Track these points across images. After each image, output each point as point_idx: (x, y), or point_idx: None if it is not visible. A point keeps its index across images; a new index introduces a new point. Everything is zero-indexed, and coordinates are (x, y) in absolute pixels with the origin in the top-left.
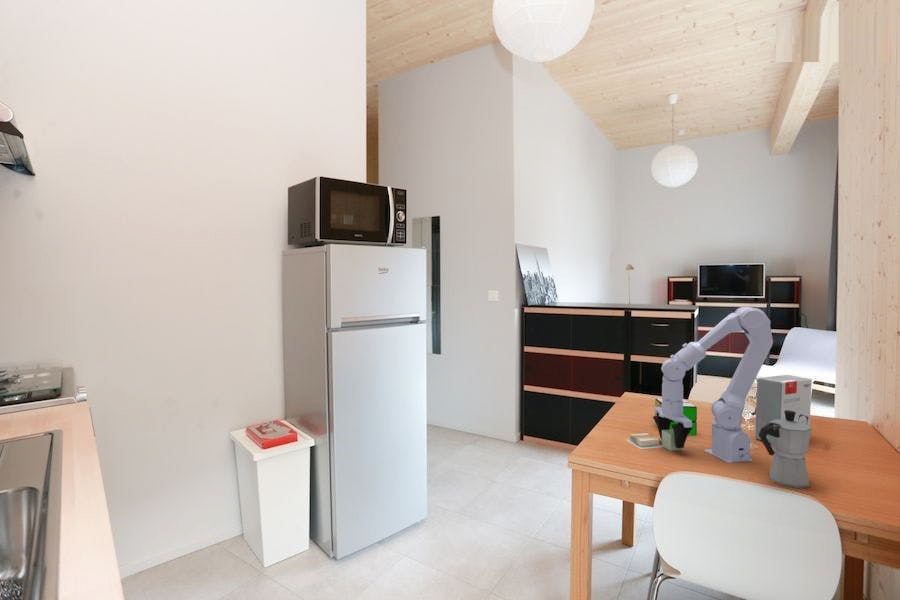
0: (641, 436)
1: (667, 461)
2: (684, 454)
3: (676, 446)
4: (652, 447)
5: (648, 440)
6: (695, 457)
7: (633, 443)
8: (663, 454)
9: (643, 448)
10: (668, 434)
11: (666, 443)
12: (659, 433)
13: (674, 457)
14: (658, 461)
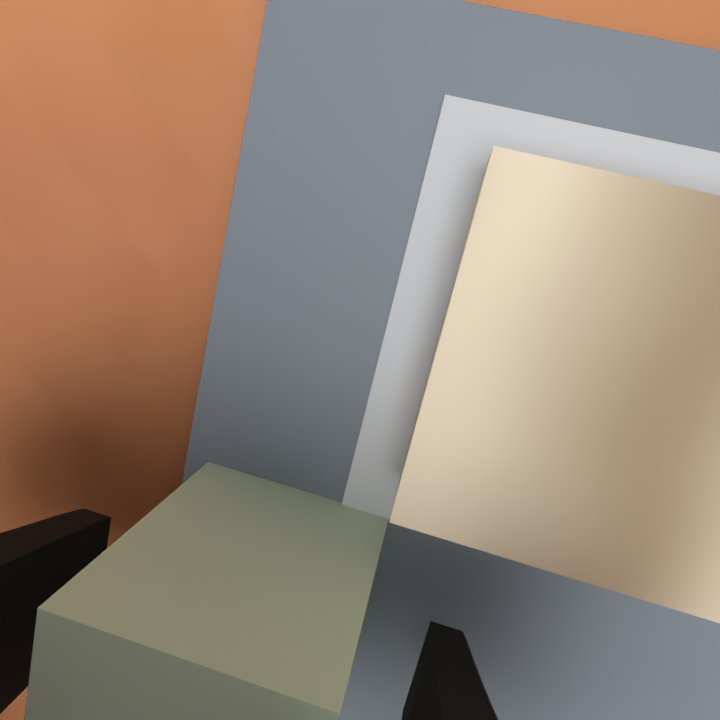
0: (690, 379)
1: (6, 156)
2: (108, 543)
3: (82, 517)
4: (398, 338)
5: (447, 317)
6: None
7: None
8: (197, 312)
9: (433, 168)
10: (115, 613)
11: (260, 522)
12: (479, 691)
13: (76, 354)
14: (39, 34)
